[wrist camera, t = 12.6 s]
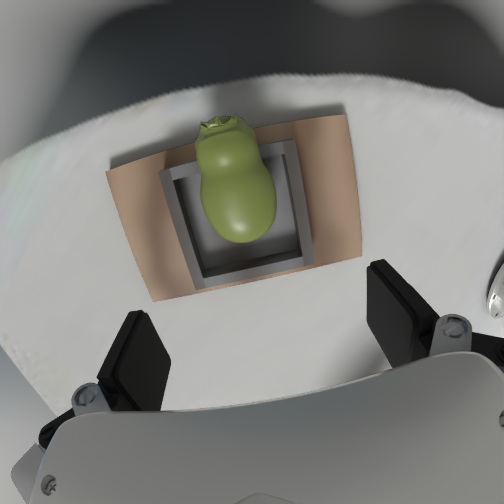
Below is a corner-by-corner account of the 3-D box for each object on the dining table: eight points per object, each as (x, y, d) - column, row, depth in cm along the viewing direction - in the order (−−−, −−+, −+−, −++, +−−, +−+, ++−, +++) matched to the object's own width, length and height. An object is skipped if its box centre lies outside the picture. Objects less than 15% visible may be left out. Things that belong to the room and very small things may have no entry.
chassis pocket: (341, 114, 23) (354, 113, 20) (358, 252, 28) (370, 264, 25) (109, 170, 23) (95, 175, 20) (155, 296, 29) (148, 313, 26)
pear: (215, 262, 21) (171, 130, 16) (216, 229, 25) (184, 121, 20) (289, 245, 21) (261, 107, 15) (277, 215, 25) (253, 104, 20)
